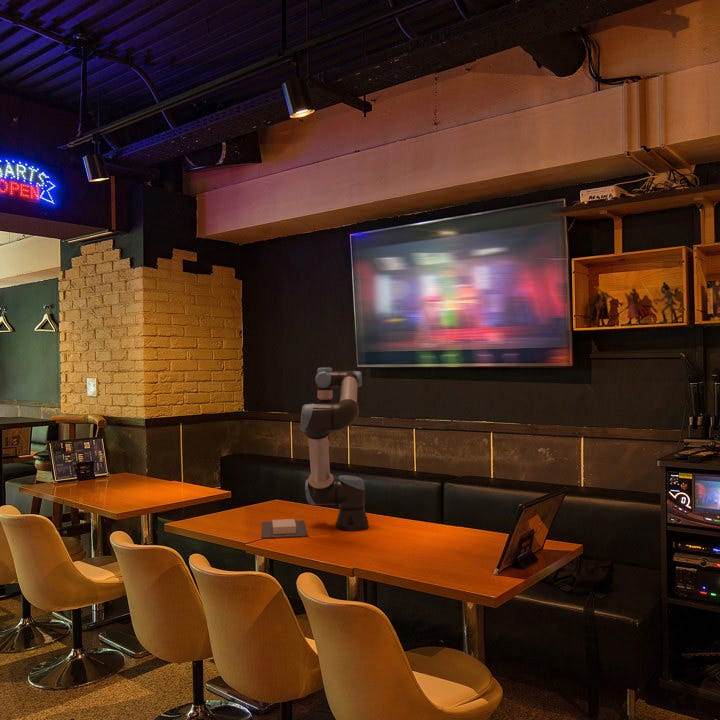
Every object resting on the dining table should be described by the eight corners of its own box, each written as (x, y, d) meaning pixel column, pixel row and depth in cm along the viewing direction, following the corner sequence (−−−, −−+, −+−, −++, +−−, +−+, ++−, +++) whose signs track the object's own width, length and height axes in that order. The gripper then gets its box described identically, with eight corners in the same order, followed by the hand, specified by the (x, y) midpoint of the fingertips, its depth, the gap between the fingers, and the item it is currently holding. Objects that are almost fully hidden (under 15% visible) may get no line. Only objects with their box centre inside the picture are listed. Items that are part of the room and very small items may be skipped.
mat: (261, 524, 320) (261, 521, 321) (304, 522, 323) (304, 520, 323) (261, 539, 291) (261, 537, 291) (308, 537, 294) (308, 534, 294)
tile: (272, 519, 309) (272, 527, 294) (294, 519, 311) (296, 526, 296) (272, 527, 309) (272, 534, 294) (294, 526, 311) (296, 533, 296)
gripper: (339, 398, 333) (339, 447, 333) (323, 398, 344) (324, 445, 343) (326, 399, 329) (327, 448, 328) (311, 398, 339) (312, 446, 338)
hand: (325, 446), depth 336 cm, fingers closed
